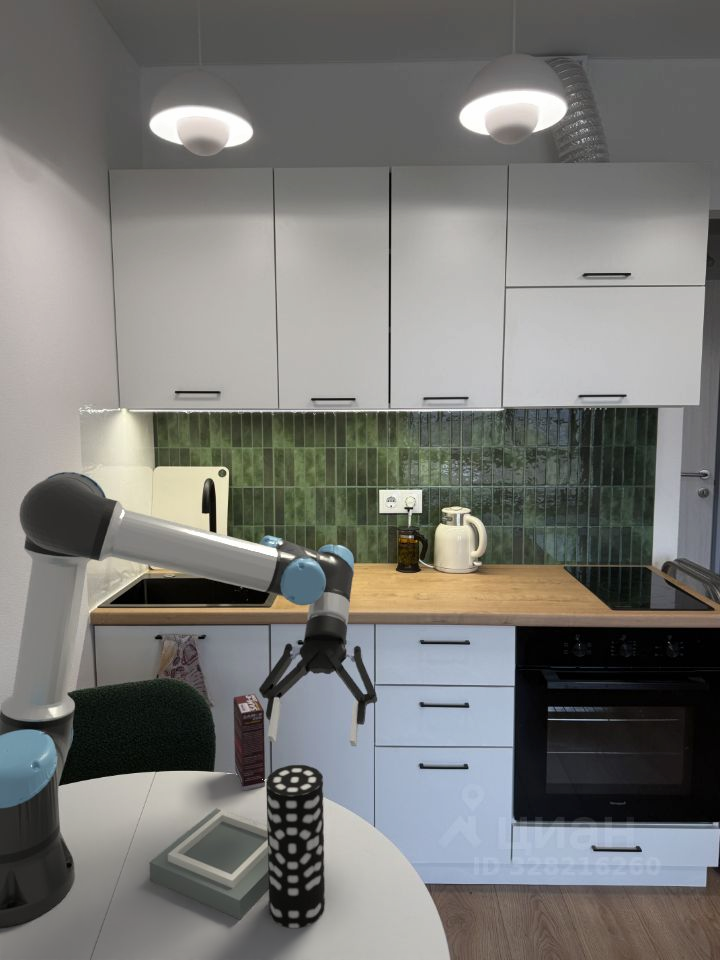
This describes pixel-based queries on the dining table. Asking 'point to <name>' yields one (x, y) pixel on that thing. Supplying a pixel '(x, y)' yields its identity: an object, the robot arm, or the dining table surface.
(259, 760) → the supplement box
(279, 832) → the black polka dot cylinder
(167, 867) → the tray
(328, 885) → the dining table surface
